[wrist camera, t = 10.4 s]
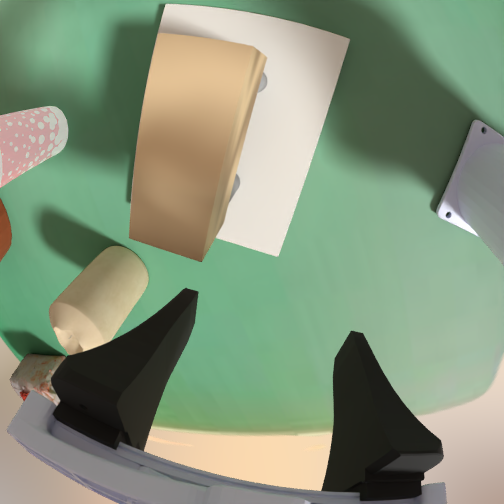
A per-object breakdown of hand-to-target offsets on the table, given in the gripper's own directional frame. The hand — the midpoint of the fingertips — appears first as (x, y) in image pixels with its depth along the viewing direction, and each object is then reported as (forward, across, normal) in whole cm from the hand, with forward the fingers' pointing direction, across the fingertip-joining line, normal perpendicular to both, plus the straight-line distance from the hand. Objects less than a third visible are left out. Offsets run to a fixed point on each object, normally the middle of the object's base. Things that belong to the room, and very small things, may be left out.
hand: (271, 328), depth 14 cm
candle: (+11, +13, +8) cm, 19 cm away
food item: (+11, +30, +35) cm, 47 cm away
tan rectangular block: (+6, +6, -6) cm, 11 cm away
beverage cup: (+11, +22, -4) cm, 25 cm away
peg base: (+10, +6, -6) cm, 13 cm away
